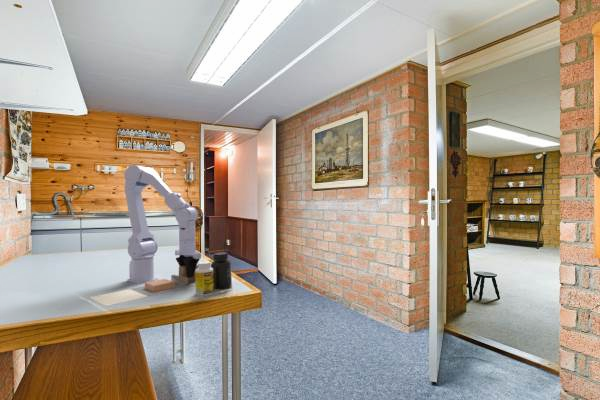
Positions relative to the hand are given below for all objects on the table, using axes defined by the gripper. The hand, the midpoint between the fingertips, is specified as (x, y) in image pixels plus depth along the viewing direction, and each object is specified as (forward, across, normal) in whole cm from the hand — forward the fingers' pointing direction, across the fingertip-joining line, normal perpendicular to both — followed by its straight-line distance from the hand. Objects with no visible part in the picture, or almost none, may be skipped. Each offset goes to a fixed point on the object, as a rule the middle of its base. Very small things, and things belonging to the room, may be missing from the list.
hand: (187, 276), depth 118 cm
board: (+2, 0, -16) cm, 16 cm away
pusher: (+2, 0, 0) cm, 2 cm away
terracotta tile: (+2, 0, -11) cm, 11 cm away
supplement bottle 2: (+3, +16, +3) cm, 17 cm away
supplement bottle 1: (+3, +18, -5) cm, 19 cm away
